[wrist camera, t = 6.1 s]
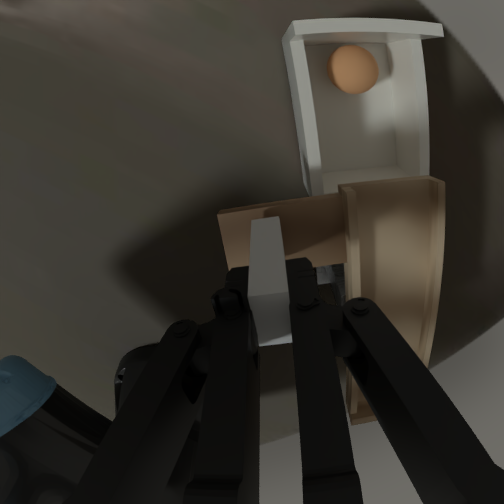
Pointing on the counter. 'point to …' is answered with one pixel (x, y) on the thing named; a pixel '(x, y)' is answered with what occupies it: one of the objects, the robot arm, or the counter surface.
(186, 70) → the counter surface
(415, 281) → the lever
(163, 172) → the counter surface
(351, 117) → the grey open bin
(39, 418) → the robot arm
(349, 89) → the ball
